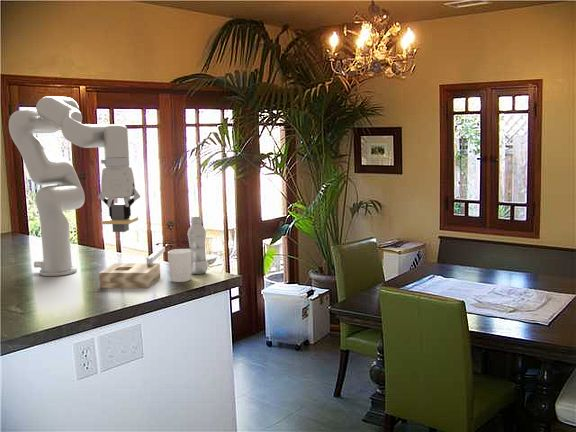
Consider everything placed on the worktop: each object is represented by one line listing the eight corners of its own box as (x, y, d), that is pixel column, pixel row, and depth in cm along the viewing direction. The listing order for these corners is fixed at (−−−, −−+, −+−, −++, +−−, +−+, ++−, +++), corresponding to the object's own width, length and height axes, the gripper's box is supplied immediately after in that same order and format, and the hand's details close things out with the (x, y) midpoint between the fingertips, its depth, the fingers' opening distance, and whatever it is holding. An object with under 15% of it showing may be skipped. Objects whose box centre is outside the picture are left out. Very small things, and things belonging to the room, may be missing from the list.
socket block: (99, 287, 201) (99, 272, 201) (115, 277, 215) (114, 263, 214) (147, 287, 200) (147, 272, 199) (160, 277, 214) (159, 263, 213)
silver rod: (160, 253, 228) (159, 246, 228) (165, 253, 228) (165, 246, 228) (146, 266, 208) (145, 258, 207) (152, 266, 208) (151, 258, 207)
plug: (102, 233, 200) (100, 205, 199) (112, 228, 209) (111, 202, 208) (129, 233, 199) (128, 205, 198) (138, 228, 208) (137, 202, 207)
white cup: (189, 276, 215) (188, 248, 214) (194, 281, 208) (193, 252, 206) (167, 278, 212) (165, 250, 211) (171, 283, 205) (170, 254, 204)
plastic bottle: (195, 276, 214) (193, 219, 211) (185, 273, 219) (183, 217, 216) (211, 273, 218) (209, 217, 215) (201, 270, 223) (199, 215, 220)
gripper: (87, 163, 198) (91, 220, 201) (138, 163, 197) (141, 220, 199) (96, 162, 205) (100, 217, 208) (145, 162, 204) (148, 216, 207)
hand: (120, 218), depth 204 cm, fingers closed on plug, 4 cm apart
